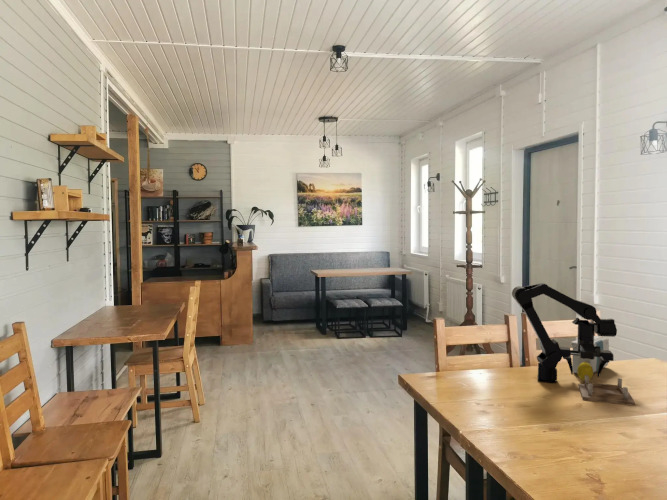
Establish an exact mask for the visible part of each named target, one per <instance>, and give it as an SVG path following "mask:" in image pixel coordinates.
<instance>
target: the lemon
mask: <svg viewBox="0 0 667 500" xmlns="http://www.w3.org/2000/svg"><path fill="white" fill-rule="evenodd" d="M577 373H578V374H577ZM577 373H576V374H577V376H578V378H579V379H580V380H582V381H583V382H584V383H585V375H588V376H589V381H590V380H591V379H592V378H593V376H594V373H593V368H592V366H591V365H590V364H589V363H587V362H583V363H581V364H580V365H579V366H578V370H577Z"/></svg>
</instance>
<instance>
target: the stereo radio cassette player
mask: <svg viewBox="0 0 667 500" xmlns="http://www.w3.org/2000/svg"><path fill="white" fill-rule="evenodd" d="M590 322H593V321H592V320H590ZM609 343H610V342H609V338H608V337H607V336H598V335H594V346H600V350H609V351H610V348H609V347H610V344H609ZM577 344H578V339H576V340H572V341H571V342H570V346H571V347H572V350H577ZM571 359H572V369H573V373H574V374H577V375H578V373H577V370H578V366H579V365H580V364H581V363H583V362H587V363H589V364H590V365H591V366H592V368H593V374H594V373H596V372H597V370H598V362H599V357H595V358H594V359H593V360H592V359H582V358H581V357H580V356H579V355H572V356H571ZM608 364H609V363H606V364H605V365H604V366H603V368H602V369H604V368H606V367H607V366H609V365H608Z"/></svg>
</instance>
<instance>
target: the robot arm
mask: <svg viewBox="0 0 667 500" xmlns="http://www.w3.org/2000/svg"><path fill="white" fill-rule="evenodd" d="M542 295H545V296H547V297H548V298H551V299H553V300H555V301H556V302H558V303H560V304H562V305H564V306H565V307H567V308H569V309H570V310H571V311H572V312H574V313H575V314H577V315H578V316H579V317H580V318H582V319H580V318H579V317H576V318H575V319H574V320H573V321H571V323H573V324H574V325H577V340H578V344H577V350H573V349H571V347H565V346H560V344H559V342H558V341H557V340H556V339H551V338H550V336H549V334H548V332H547V330H546V328H545V326H544V324H543V322H542V321H541V319H540V317H539V315H538V312H537V311H536V309H535V307H534V303H533V299H534V298H536V297H539V296H542ZM511 297H512V298H513V299H514V300H515V302H516V303H517V304H518V305H519V307H520V308H521V309H522V310H523V312H524V314H525V316H526V318H527V320H528V322H529V323H530V325H531V327H532V329H533V331H534V333H535V335H536V337H537V339H538V341H539V345H540V349H541V352H540V353H539V354H538V355H537V356H536V359H537V362H538V363H537V377H536V378H537V382H540V383H541V382H542V383H552V384H556V383H557V380H558V369H557V366H558V364H559V362H561V360H562V359H564V360H566V362H567V364H568V367H569V371H570V375H573V369H572V356H573V355H579V356H580V357H581V358H582V359H592V360H593V359H594V358H595V357H599V362H598V370H597V371H596V372H597V378H599V377H600V375H601V373H602V370H603V369H604V368H603V366H604V365H605V364H606V363H608V364H610V362H613V361H614V353H613V352H612V351H611V350H610V349H609V350H600V346H594V336H595V334H597V335H596V336H599V337H606V338H608V337H609V338H610V337H612V338H613V337H614V338H615V337H616V336H617V332H618V329H617V325H616V322H615V319H613V318H607V319H606V318H600V316H599V315H598V314H597V308H596V307H595V306H594V305H591V304H589V303H587V302H584V301H581V300H578V299H574V298H571V297H570V296H568V295H567V294H564V293H562V292H560V291H558V290H557V289H555V288H553V287H551V286H549V285H548V284H546V283H544V282H539V283H536V284H530V285H526V286H515V287H514V288H513V289H512V291H511ZM591 321H592V322H591Z"/></svg>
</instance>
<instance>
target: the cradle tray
mask: <svg viewBox="0 0 667 500" xmlns="http://www.w3.org/2000/svg"><path fill="white" fill-rule="evenodd" d="M577 386H578V390H579V392H580V395H581V399H582V401H590V402H591V401H592V402H601V403H609V404H619V405H628V406H629V405H630V406H636V402H635V400H634V399H633V397H632V395H631V393H630V392H629V389H628V387H627V386H623V378H619V377H618V378H617V384H611V383H609V384H607V383H597V382H590V380H589V376H588V375H585V382H584V383H578V384H577Z"/></svg>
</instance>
